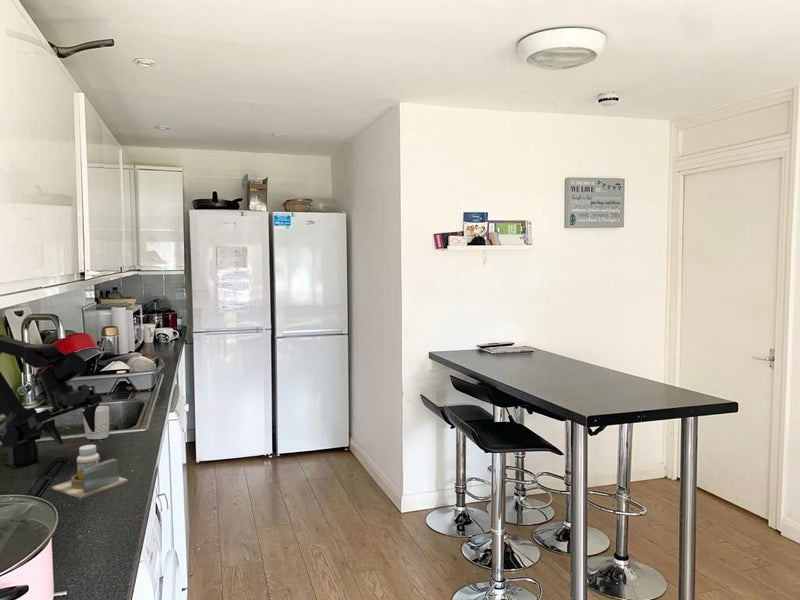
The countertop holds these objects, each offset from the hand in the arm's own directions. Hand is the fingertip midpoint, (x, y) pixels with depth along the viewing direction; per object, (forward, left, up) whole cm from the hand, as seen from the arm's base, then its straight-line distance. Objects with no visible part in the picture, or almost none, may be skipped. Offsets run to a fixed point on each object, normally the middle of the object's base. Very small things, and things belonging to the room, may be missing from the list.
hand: (77, 437), depth 168 cm
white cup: (+19, +25, -10) cm, 33 cm away
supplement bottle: (-4, -13, -9) cm, 16 cm away
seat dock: (-4, -13, -9) cm, 17 cm away
